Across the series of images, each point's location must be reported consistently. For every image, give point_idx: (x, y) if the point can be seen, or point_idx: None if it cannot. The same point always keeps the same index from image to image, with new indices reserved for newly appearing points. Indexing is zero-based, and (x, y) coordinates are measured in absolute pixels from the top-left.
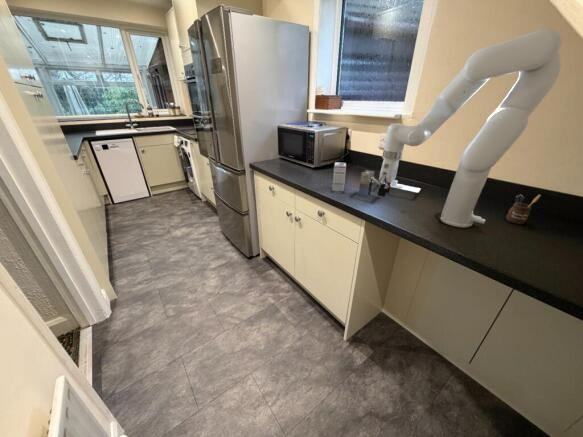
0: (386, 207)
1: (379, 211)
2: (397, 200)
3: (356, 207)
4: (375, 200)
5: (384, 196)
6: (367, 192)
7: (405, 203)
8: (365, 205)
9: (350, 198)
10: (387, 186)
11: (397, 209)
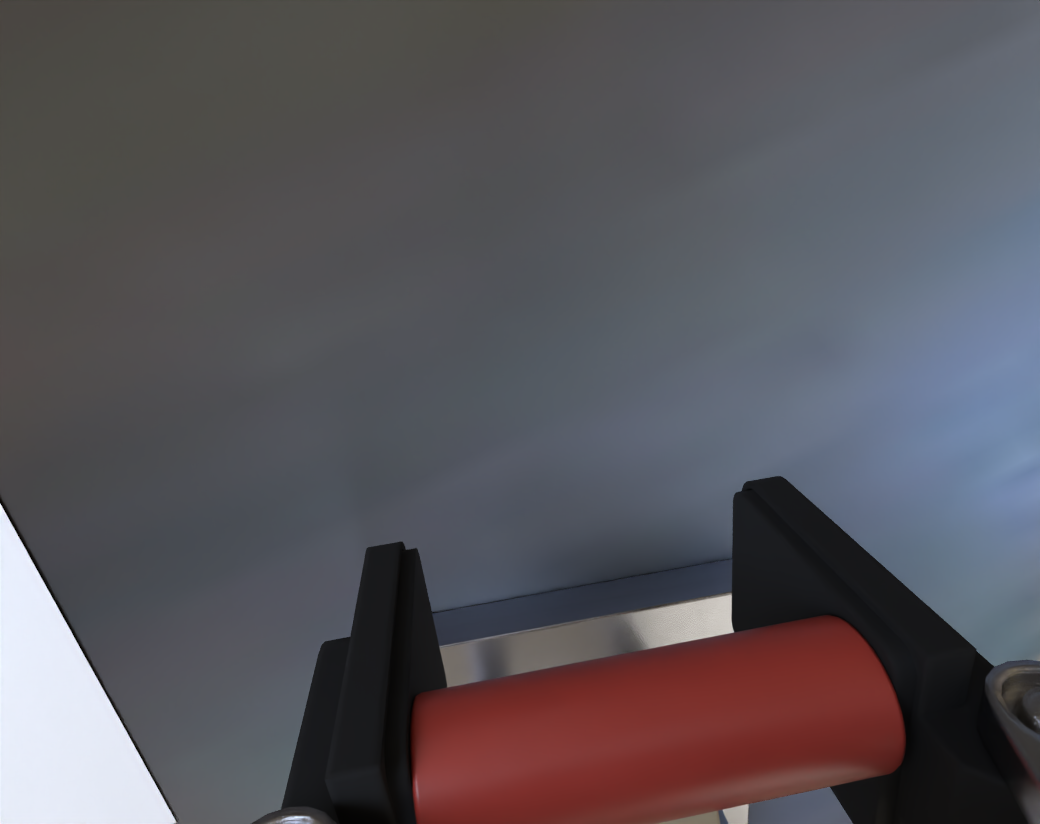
0: (759, 271)
1: (1021, 283)
2: (165, 267)
3: (1034, 606)
4: (567, 575)
5: (780, 479)
6: (721, 814)
7: (161, 3)
8: (890, 567)
9: (761, 814)
10: (642, 757)
11: (715, 21)
